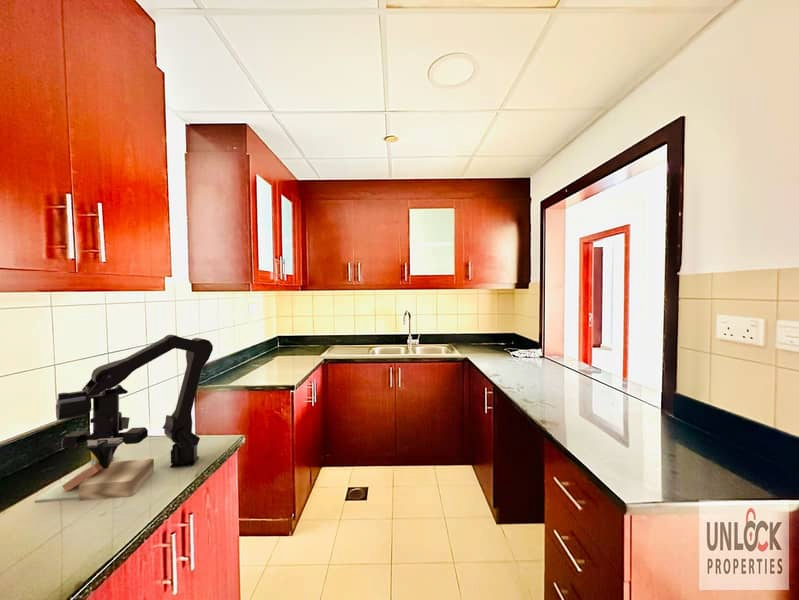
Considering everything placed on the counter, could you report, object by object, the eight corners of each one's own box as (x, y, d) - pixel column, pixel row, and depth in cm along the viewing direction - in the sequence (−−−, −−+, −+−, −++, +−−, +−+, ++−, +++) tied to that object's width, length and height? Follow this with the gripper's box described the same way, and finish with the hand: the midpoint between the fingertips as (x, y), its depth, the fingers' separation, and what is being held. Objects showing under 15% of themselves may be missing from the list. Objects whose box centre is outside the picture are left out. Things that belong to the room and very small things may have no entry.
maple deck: (153, 472, 116) (153, 458, 116) (130, 495, 102) (130, 480, 102) (108, 475, 113) (108, 461, 113) (79, 500, 100) (79, 485, 100)
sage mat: (104, 477, 112) (104, 475, 112) (79, 498, 101) (79, 496, 101) (65, 480, 110) (65, 478, 110) (34, 502, 99) (34, 500, 99)
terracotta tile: (110, 461, 110) (106, 456, 110) (98, 471, 104) (93, 465, 104) (80, 481, 109) (76, 475, 109) (66, 491, 103) (61, 485, 103)
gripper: (155, 402, 117) (155, 453, 117) (85, 405, 113) (85, 458, 113) (138, 413, 106) (138, 470, 106) (59, 417, 102) (60, 476, 102)
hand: (106, 468), depth 107 cm, fingers closed
